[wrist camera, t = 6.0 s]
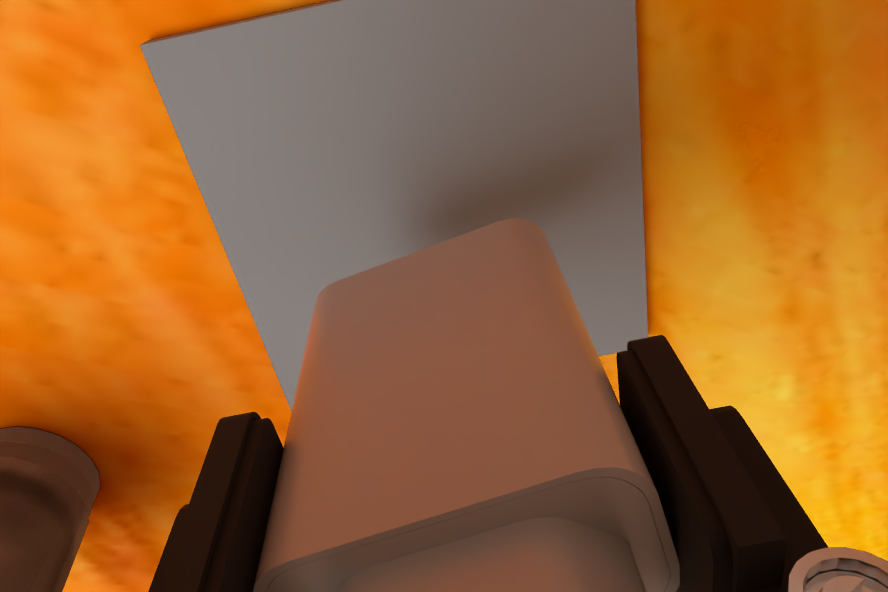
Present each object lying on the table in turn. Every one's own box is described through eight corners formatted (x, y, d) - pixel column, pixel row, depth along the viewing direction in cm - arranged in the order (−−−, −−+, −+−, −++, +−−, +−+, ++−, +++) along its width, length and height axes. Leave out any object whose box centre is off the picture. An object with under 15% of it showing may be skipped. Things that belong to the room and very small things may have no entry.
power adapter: (575, 322, 15) (931, 1181, 5) (361, 395, 16) (289, 1272, 6) (536, 206, 14) (937, 1107, 3) (301, 293, 15) (60, 1244, 4)
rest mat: (147, 40, 16) (139, 45, 16) (625, -65, 16) (633, -64, 15) (294, 402, 23) (292, 413, 22) (643, 336, 22) (648, 346, 22)
